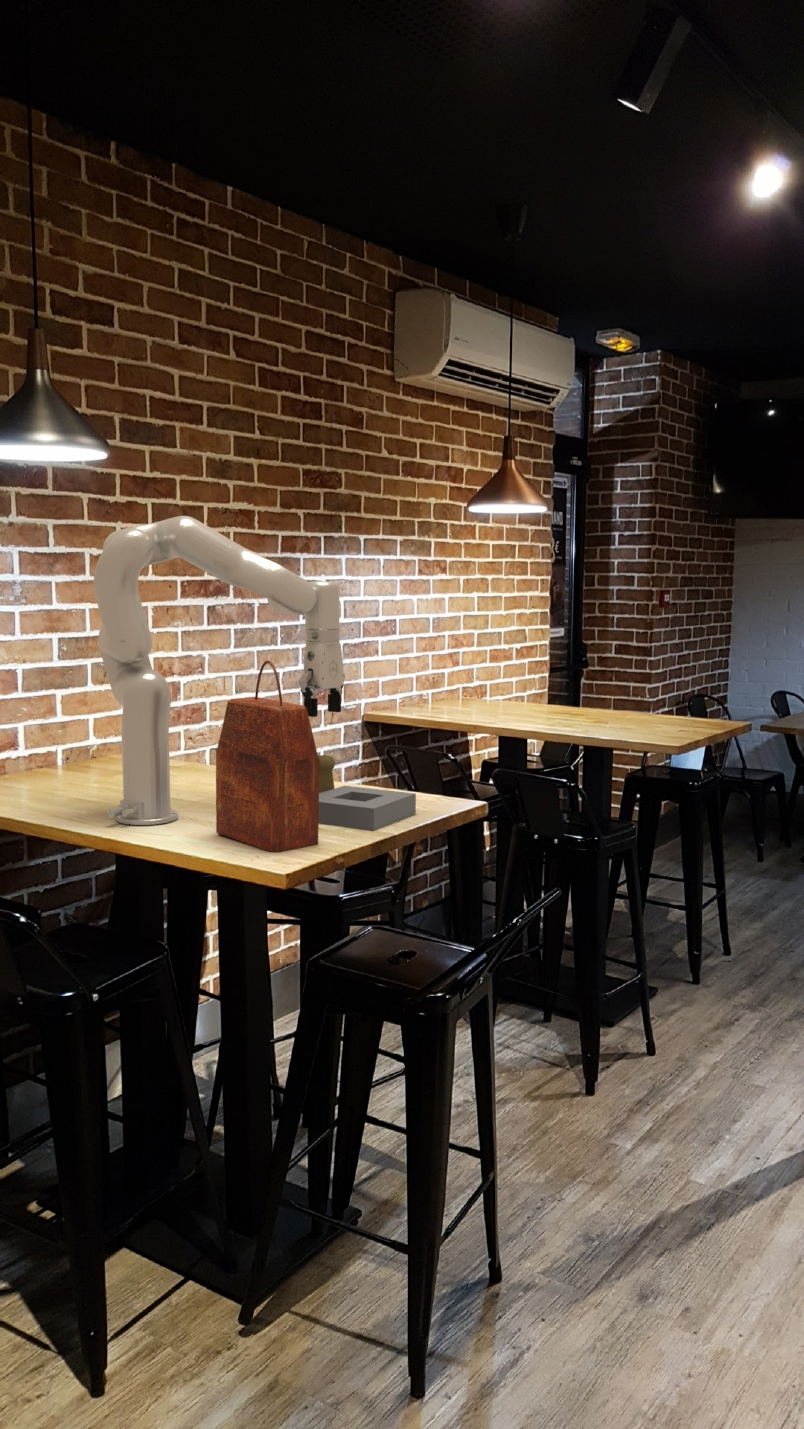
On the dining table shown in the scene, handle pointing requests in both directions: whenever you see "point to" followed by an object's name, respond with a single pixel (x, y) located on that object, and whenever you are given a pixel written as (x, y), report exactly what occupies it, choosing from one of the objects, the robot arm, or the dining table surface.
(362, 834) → the dining table surface
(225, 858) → the dining table surface
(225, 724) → the handbag
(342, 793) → the well block
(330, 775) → the cork
